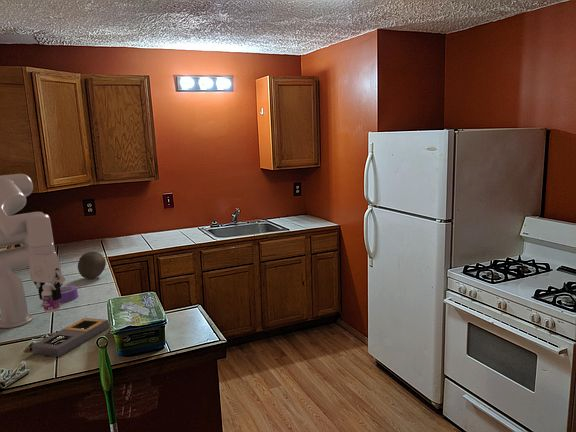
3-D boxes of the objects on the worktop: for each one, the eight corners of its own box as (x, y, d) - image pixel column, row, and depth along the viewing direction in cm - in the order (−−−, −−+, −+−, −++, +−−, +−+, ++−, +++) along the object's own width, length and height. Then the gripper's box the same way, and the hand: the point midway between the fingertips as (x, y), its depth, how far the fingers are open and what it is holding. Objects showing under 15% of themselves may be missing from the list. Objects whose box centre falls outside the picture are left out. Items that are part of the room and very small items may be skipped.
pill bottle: (40, 313, 157) (36, 287, 155) (51, 307, 162) (47, 282, 160) (53, 313, 156) (49, 287, 154) (64, 307, 161) (60, 282, 159)
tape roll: (79, 299, 214) (78, 289, 213) (52, 305, 208) (50, 295, 207) (76, 293, 224) (75, 283, 223) (50, 299, 218) (49, 289, 217)
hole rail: (32, 353, 158) (31, 345, 157) (85, 324, 181) (84, 317, 180) (58, 356, 154) (57, 348, 153) (109, 327, 177) (108, 319, 176)
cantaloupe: (86, 283, 238) (82, 256, 236) (75, 279, 248) (71, 253, 245) (111, 276, 248) (108, 250, 246) (100, 273, 258) (96, 247, 255)
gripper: (15, 251, 154) (23, 301, 158) (52, 253, 149) (60, 304, 152) (33, 246, 161) (41, 293, 165) (70, 247, 156) (77, 296, 159)
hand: (50, 298), depth 158 cm, fingers closed on pill bottle, 5 cm apart
